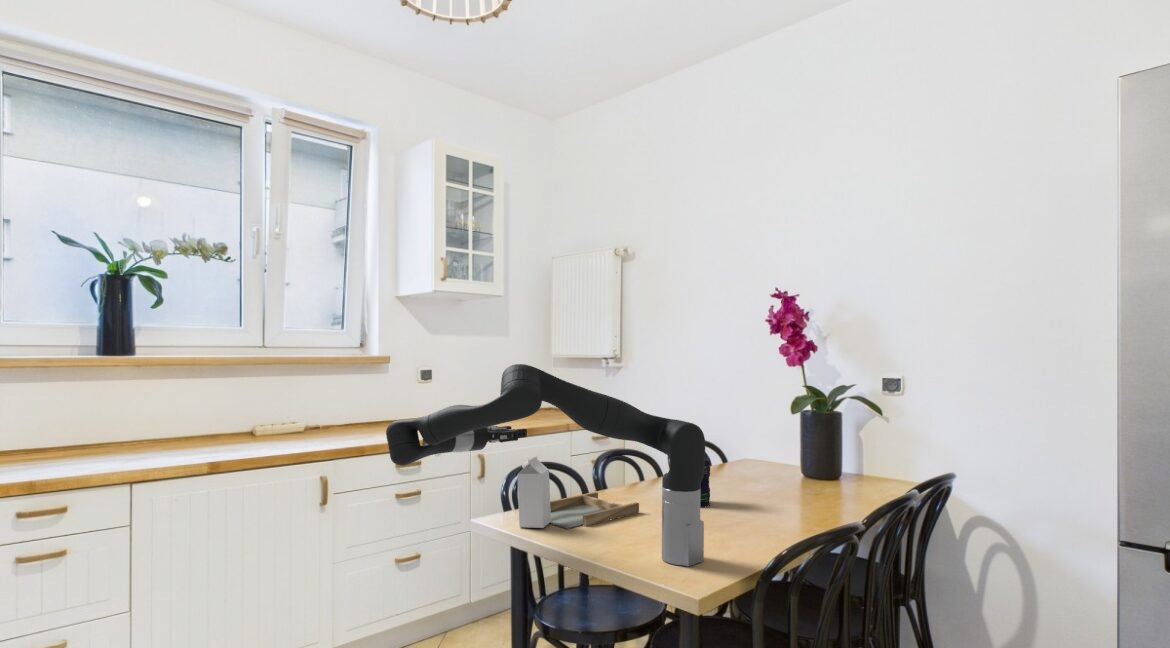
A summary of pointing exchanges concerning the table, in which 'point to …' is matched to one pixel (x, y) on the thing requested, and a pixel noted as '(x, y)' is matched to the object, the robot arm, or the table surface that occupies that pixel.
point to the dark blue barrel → (705, 485)
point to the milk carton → (534, 495)
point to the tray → (587, 510)
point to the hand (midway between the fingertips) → (518, 431)
